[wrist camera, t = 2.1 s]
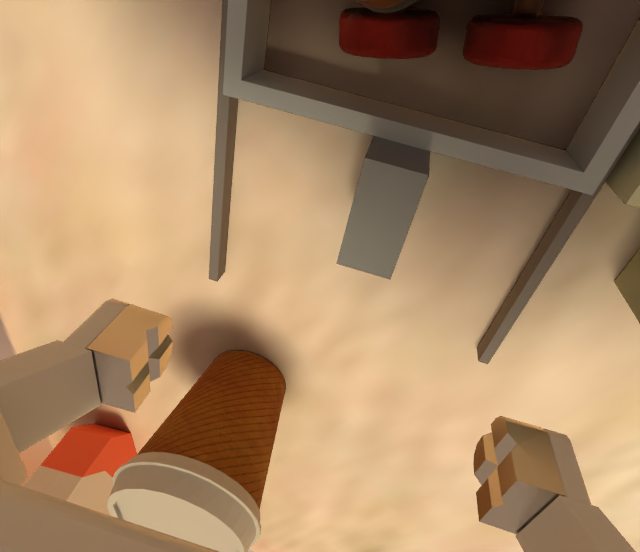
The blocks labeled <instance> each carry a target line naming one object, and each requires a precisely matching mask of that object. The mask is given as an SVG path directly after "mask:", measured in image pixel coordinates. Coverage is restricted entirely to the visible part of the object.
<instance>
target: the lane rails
mask: <svg viewBox="0 0 640 552" xmlns="http://www.w3.org/2000/svg"><path fill="white" fill-rule="evenodd" d="M227 11H228V0H223V3H222V23H221V43H220V63H219V83H218V104H217V124H216V144H215V164H214V184H213V205H212V225H211V245H210V265H209V279H211V280H214V281H218V280H219V279H220V277H221V276H222V275H223V273H224V272H225V263H226V250H227V237H228V224H229V211H230V198H231V185H232V172H233V159H234V146H235V133H236V120H237V107H238V99H237V98H233V97H230V96H226V95H223V82H224V64H225V47H226V29H227ZM639 128H640V121H639V123H638V125H637V126H636V128H635V129H634V131H633V132H632V134H631V136H630V137H629V139H628V140H627V142H626V143H625V145H624V147H623V148H622V150H621V151H620V153H619V154H618V156H617V157H616V159H615V161H614V162H613V164H612V165H611V167H610V168H609V170H608V172H607V173H606V175H605V176H604V178H603V179H602V181H601V183H600V184H599V186H598V187H597V189H596V190H595V192H594V194H593V195H589V194H585V193H582V192H578V191H574V190H571V192H570V194H569V195H568V197H567V199H566V200H565V202H564V204H563V205H562V207H561V209H560V210H559V212H558V214H557V215H556V217H555V219H554V220H553V222H552V224H551V225H550V227H549V229H548V230H547V232H546V234H545V235H544V237H543V239H542V240H541V242H540V244H539V245H538V247H537V249H536V250H535V252H534V254H533V255H532V257H531V259H530V260H529V262H528V264H527V265H526V267H525V269H524V270H523V272H522V274H521V275H520V277H519V279H518V280H517V282H516V284H515V285H514V287H513V289H512V290H511V292H510V294H509V295H508V297H507V299H506V300H505V302H504V304H503V305H502V307H501V309H500V310H499V312H498V314H497V315H496V317H495V319H494V320H493V322H492V324H491V325H490V327H489V329H488V330H487V332H486V334H485V335H484V337H483V339H482V340H481V342H480V344H479V345H478V347H477V353H478V361H479V362H483V363H486V364H488V363H489V362H490V360H491V358H492V357H493V355H494V354H495V352H496V351H497V349H498V348H499V346H500V344H501V343H502V341H503V340H504V338H505V337H506V335H507V334H508V332H509V330H510V329H511V327H512V326H513V324H514V323H515V321H516V320H517V318H518V316H519V315H520V313H521V312H522V310H523V309H524V307H525V306H526V304H527V302H528V301H529V299H530V298H531V296H532V295H533V293H534V292H535V290H536V288H537V287H538V285H539V284H540V282H541V281H542V279H543V278H544V276H545V274H546V273H547V271H548V270H549V268H550V267H551V265H552V264H553V262H554V260H555V259H556V257H557V256H558V254H559V253H560V251H561V250H562V248H563V246H564V245H565V243H566V242H567V240H568V239H569V237H570V236H571V234H572V232H573V231H574V229H575V228H576V226H577V225H578V223H579V222H580V220H581V218H582V217H583V215H584V214H585V212H586V211H587V209H588V208H589V206H590V204H591V203H592V201H593V200H594V198H595V197H596V195H597V194H598V192H599V190H600V189H601V187H602V186H603V184H604V183H605V181H606V180H607V178H608V176H609V175H610V173H611V172H612V170H613V169H614V167H615V166H616V164H617V162H618V161H619V159H620V158H621V156H622V155H623V153H624V152H625V150H626V148H627V147H628V145H629V144H630V142H631V141H632V139H633V138H634V136H635V134H636V133H637V131H638V130H639Z"/></svg>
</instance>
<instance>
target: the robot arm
mask: <svg viewBox="0 0 640 552" xmlns="http://www.w3.org/2000/svg"><path fill="white" fill-rule="evenodd" d="M171 329H172V318H170V317H168V316H165V315H162V314H159V313H156V312H153V311H150V310H147V309H144V308H141V307H138V306H135V305H132V304H128V303H125V302H122V301H119V300H116V299H110V300H108V301H106V302H105V303H104V304H102V305H101V306H100V307H99V308H98V309H97V310H96V311H95V312H94V313H93V314H92V315H91V316H90V317H89V318H88V319H87V320H86V321H85V322H84V323H83V324H82V325H81V326H80V327H79V328H77V329H76V330H75V331H74V332H73V333H72V334H71V335H70V336H69V337H68V338H67V339H66V340H65V341H64V342H62V341H58V340H57V341H54V342H51V343H48V344H46V345H43V346H40V347H37V348H34V349H31V350H29V351H26V352H23V353H20V354H17V355H15V356H12V357H9V358H6V359H3V360H0V552H219V551H216V550H213V549H210V548H207V547H204V546H201V545H198V544H195V543H192V542H189V541H186V540H183V539H180V538H177V537H174V536H171V535H168V534H164V533H161V532H158V531H155V530H152V529H149V528H146V527H143V526H140V525H137V524H134V523H131V522H128V521H125V520H122V519H119V518H116V517H113V516H110V515H107V514H104V513H101V512H98V511H95V510H92V509H89V508H86V507H83V506H80V505H77V504H74V503H71V502H68V501H65V500H62V499H59V498H56V497H53V496H50V495H47V494H44V493H41V492H38V491H35V490H32V489H29V488H26V487H23V486H21V484H22V483H23V482H24V481H25V479H26V478H27V470H26V467H25V465H24V463H23V460H22V458H21V455H20V452H22V451H24V450H25V449H27V448H29V447H30V446H32V445H34V444H35V443H37V442H39V441H41V440H42V439H44V438H46V437H47V436H49V435H51V434H53V433H54V432H56V431H58V430H59V429H61V428H63V427H65V426H66V425H68V424H70V423H71V422H73V421H75V420H76V419H78V418H80V417H82V416H83V415H85V414H87V413H88V412H90V411H92V410H94V409H95V408H97V407H99V406H100V405H101V403H103V404H106V405H110V406H113V407H117V408H120V409H124V410H127V411H131V412H134V413H135V412H136V411H137V409H138V408H139V407H140V405H141V404H142V402H143V401H144V399H145V398H146V397H147V395H148V394H149V392H150V381H152V380H155V379H157V378H159V377H160V376H161V375H162V373H163V372H164V370H165V369H166V367H167V365H168V362H169V360H170V358H171V354H172V349H173V341H172V340H171V338H170V337H169V335H168V334H169V332H170V331H171ZM491 429H492V432H491V433H489V434H486V435H483V436H482V437H481V439H480V440H479V442H478V443H477V446H476V450H475V453H474V474H475V476H476V477H477V479H478V480H479V482H480V483H481V485H482V486H481V487H480V488H479V490H478V491H477V492H476V496H477V505H478V515H479V521H480V522H483V523H485V524H488V525H491V526H494V527H497V528H500V529H503V530H506V531H509V532H512V533H514V534H517V535H516V538H517V540H518V541H519V543H520V545H521V547H522V549H523V550H524V552H636V551H635V550H634V549H633V548H632V547H631V545H630V544H629V543H628V542H627V541H626V540H625V538H624V537H623V536H622V535H621V534H620V532H619V531H618V530H617V529H616V528H615V527H614V525H613V524H612V523H611V522H610V521H609V519H608V518H607V517H606V516H605V515H604V514H603V512H602V511H601V510H600V509H599V508H598V507H596V506H593V505H591V502H590V499H589V496H588V493H587V490H586V487H585V484H584V481H583V478H582V475H581V472H580V469H579V466H578V463H577V460H576V456H575V453H574V450H573V447H572V444H571V441H570V439H569V438H568V437H567V436H566V435H564V434H561V433H557V432H554V431H551V430H547V429H542V428H541V427H537V426H534V425H531V424H527V423H524V422H520V421H517V420H513V419H510V418H506V417H503V416H499V417H497V418H496V419H495V420H494V421H493V422H492V424H491Z"/></svg>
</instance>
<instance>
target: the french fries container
mask: <svg viewBox="0 0 640 552" xmlns="http://www.w3.org/2000/svg"><path fill="white" fill-rule="evenodd" d="M136 455H137V453H136V450H135V446H134V443H133V439H132V436H131V433H127V432H124V431H120V430H116V429H113V428H109V427H105V426H102V425H98V424H90V425H84V426H78V427H73V428H71V429H70V430H69V432H68V433H67V434H66V435H65V436H64V438H63V439H62V440H61V441H60V442H59V444H58V445H57V446H56V447H55V448H54V450H53V451H52V452H51V453H50V454H49V456H48V457H47V458H46V459H45V460H44V462H43V463H42V464H41V465H40V466H39V468H38V469H37V470H36V471H35V472H34V474H33V475H32V476H31V477H30V478H29V480H28V481H27V482H26V483H25V484H24V486H23V487H26V488H29V489H32V490H35V491H38V492H41V493H44V494H47V495H50V496H53V497H56V498H59V499H62V500H65V501H68V502H71V503H74V504H77V505H80V506H83V507H86V508H89V509H92V510H95V511H98V512H101V513H104V514H107V515H110V514H109V511H108V507H107V502H108V498H109V496H110V493H111V491H112V488H113V480H112V479H113V476H114V474H115V472H116V471H117V470H118V469H119V467H120V466H121V465H123V464H125V463H127V462H128V461H129V460H130V459H131V458H132V457H134V456H136ZM110 516H111V515H110Z"/></svg>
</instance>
